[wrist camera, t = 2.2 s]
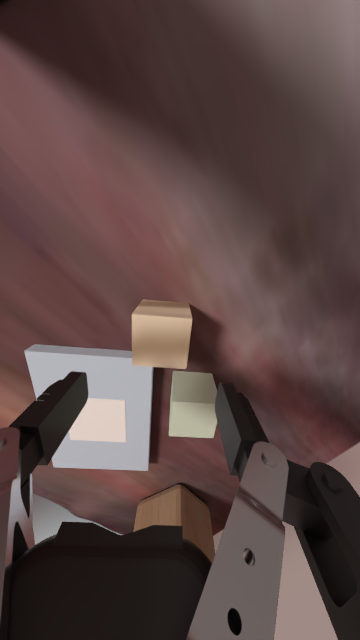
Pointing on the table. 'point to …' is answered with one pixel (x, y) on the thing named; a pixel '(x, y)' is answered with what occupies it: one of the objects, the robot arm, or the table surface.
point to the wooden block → (179, 516)
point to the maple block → (161, 334)
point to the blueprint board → (100, 406)
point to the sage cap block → (192, 405)
